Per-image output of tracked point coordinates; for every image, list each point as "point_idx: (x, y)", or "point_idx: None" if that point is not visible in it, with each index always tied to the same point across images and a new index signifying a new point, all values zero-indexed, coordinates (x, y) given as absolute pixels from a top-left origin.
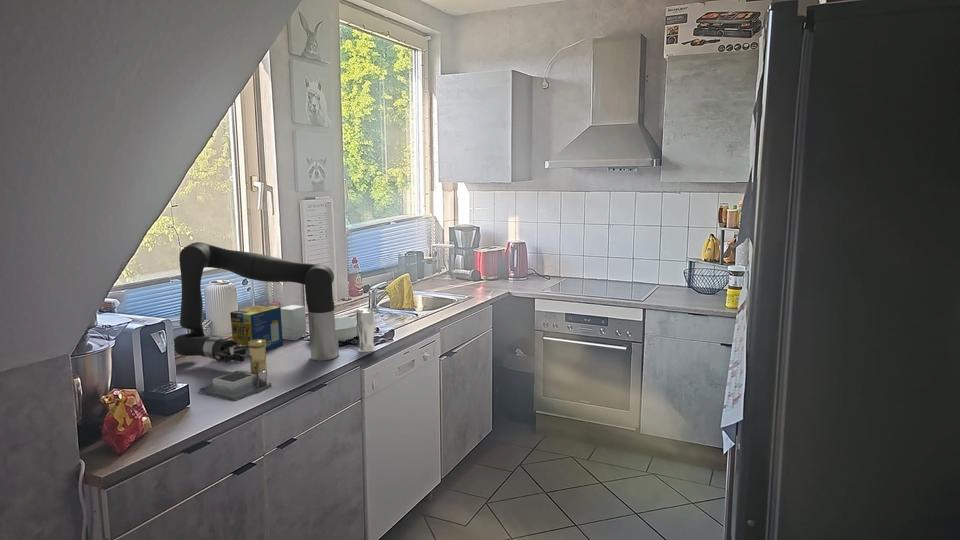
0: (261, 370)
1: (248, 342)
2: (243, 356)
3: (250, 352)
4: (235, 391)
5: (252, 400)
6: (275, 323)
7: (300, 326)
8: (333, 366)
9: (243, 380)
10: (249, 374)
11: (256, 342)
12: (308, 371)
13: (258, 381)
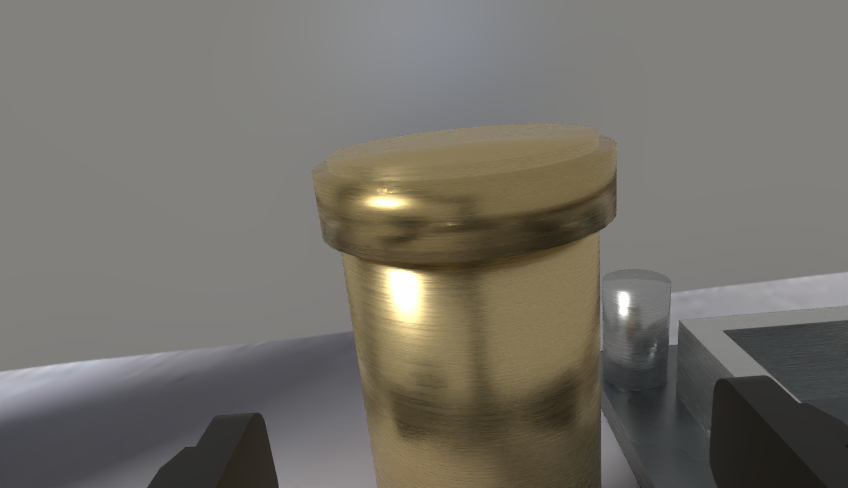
0: (628, 292)
1: (581, 158)
2: (715, 390)
3: (598, 298)
4: None
5: (787, 310)
6: None
7: None
8: (94, 376)
9: (824, 314)
10: (734, 348)
11: (511, 129)
12: (216, 407)
13: (639, 423)
